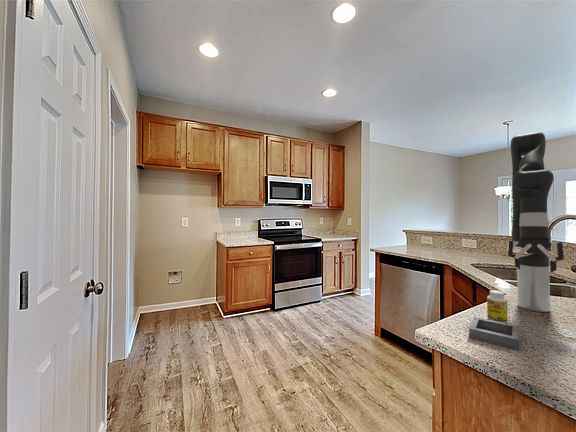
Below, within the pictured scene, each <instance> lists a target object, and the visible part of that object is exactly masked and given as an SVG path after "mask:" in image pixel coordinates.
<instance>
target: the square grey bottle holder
mask: <svg viewBox="0 0 576 432" xmlns="http://www.w3.org/2000/svg"><path fill="white" fill-rule="evenodd" d="M468 338H469V339H472V340H475V341H480V342H482V343H488V344H491V345H496V346H499V347H503V348H507V349H511V350H515V351H518V352H519V351H520V350H521V349H520V326H519V325H516V324H510V323H507V322H506V323H501V322H497V321H492V320H489V319H488V318H482V317H477V316H473V318H472V320H471V322H470V325H469V327H468Z"/></svg>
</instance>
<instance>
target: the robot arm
mask: <svg viewBox="0 0 576 432" xmlns="http://www.w3.org/2000/svg"><path fill="white" fill-rule="evenodd" d="M546 143H547V140H546V136H545V134H544V133H543V132H541V131H538V132H530V133H526V134H519V135H516V136H513V137H512V138H511V140H510V153H511V155H510V156H511V165H512V166H511V168H512V169H511V170H512V176H511V195H512V196H511V197H512V199H511V200H512V224H511V240H509V241H508V252H507V256H509V257H511V258H513V259H514V266H515V268H516V270H517V271H516V274H517V277H516V278H517V282H516V283H517V306H518V307H519V308H522V309H525V310H528V311H529V310H530V311H533V312H534V311H535V312H541V313H542V312H543V313H546V312H550V311H551V293H550V292H551V291H550V289H551V288H550V287H551V286H550V273H554V271H557V262H559V261H564V260H565V253H564V247H563V243H562V242H559V241H558V242H550V238H551V237H550V229H549V228H550V227H549V225H550V223H549V215H548V197H549V193H550V190H551V188H552V185H553V183H554V180H555V179H554V178H555V177H554V173H553V172H552V171H550V170H549V169H545V164H544V159H545V158H544V157H545V153H546ZM522 156H523V157H522ZM551 246H553V248H554V249H556V251H557V256H554V255H553V254H552V253H550V247H551ZM515 247H516V248H521V250H519V251H518V252H517V253H514V248H515ZM525 253H528V254H525Z"/></svg>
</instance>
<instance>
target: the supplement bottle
mask: <svg viewBox="0 0 576 432" xmlns="http://www.w3.org/2000/svg"><path fill="white" fill-rule="evenodd" d="M486 309H487V311H486V313H487V314H486V315H487V316H486V317H487V320H492V321H497V322H501V323H506V324H507V323H508V320H509V319H508V316H509V315H508V313H509V311H508V299H507V298H506V297H505V292H503V291H501V290H494V289H493V290H489V295H487V297H486Z"/></svg>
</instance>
